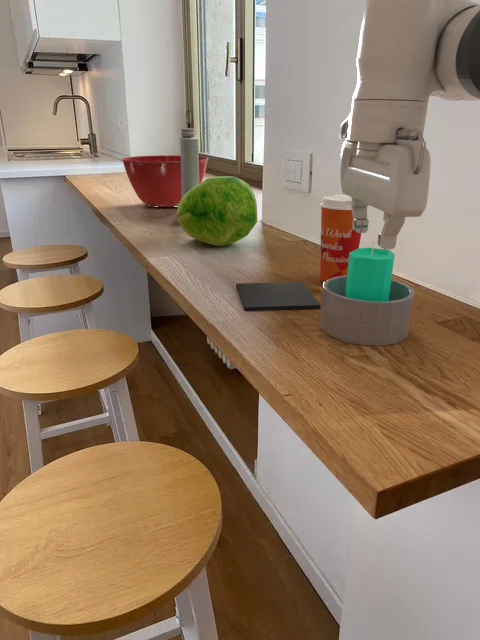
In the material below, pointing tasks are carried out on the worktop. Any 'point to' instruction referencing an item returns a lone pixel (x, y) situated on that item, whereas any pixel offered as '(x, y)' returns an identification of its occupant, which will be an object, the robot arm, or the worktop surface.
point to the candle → (369, 274)
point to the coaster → (276, 296)
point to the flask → (189, 160)
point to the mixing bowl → (158, 178)
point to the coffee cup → (336, 236)
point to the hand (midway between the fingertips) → (371, 239)
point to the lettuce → (218, 211)
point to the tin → (366, 314)
